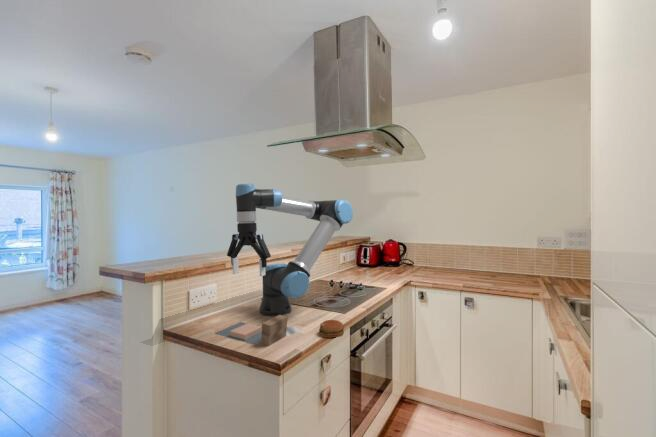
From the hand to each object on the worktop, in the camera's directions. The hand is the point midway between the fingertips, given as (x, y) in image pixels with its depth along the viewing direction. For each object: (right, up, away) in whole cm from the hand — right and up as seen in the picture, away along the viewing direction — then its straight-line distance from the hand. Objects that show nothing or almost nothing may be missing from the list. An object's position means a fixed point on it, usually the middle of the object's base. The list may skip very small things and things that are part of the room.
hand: (249, 274), depth 125 cm
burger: (+33, -23, -4) cm, 41 cm away
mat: (0, -23, -3) cm, 23 cm away
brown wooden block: (+14, -23, -7) cm, 27 cm away
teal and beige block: (+2, -21, -1) cm, 21 cm away
